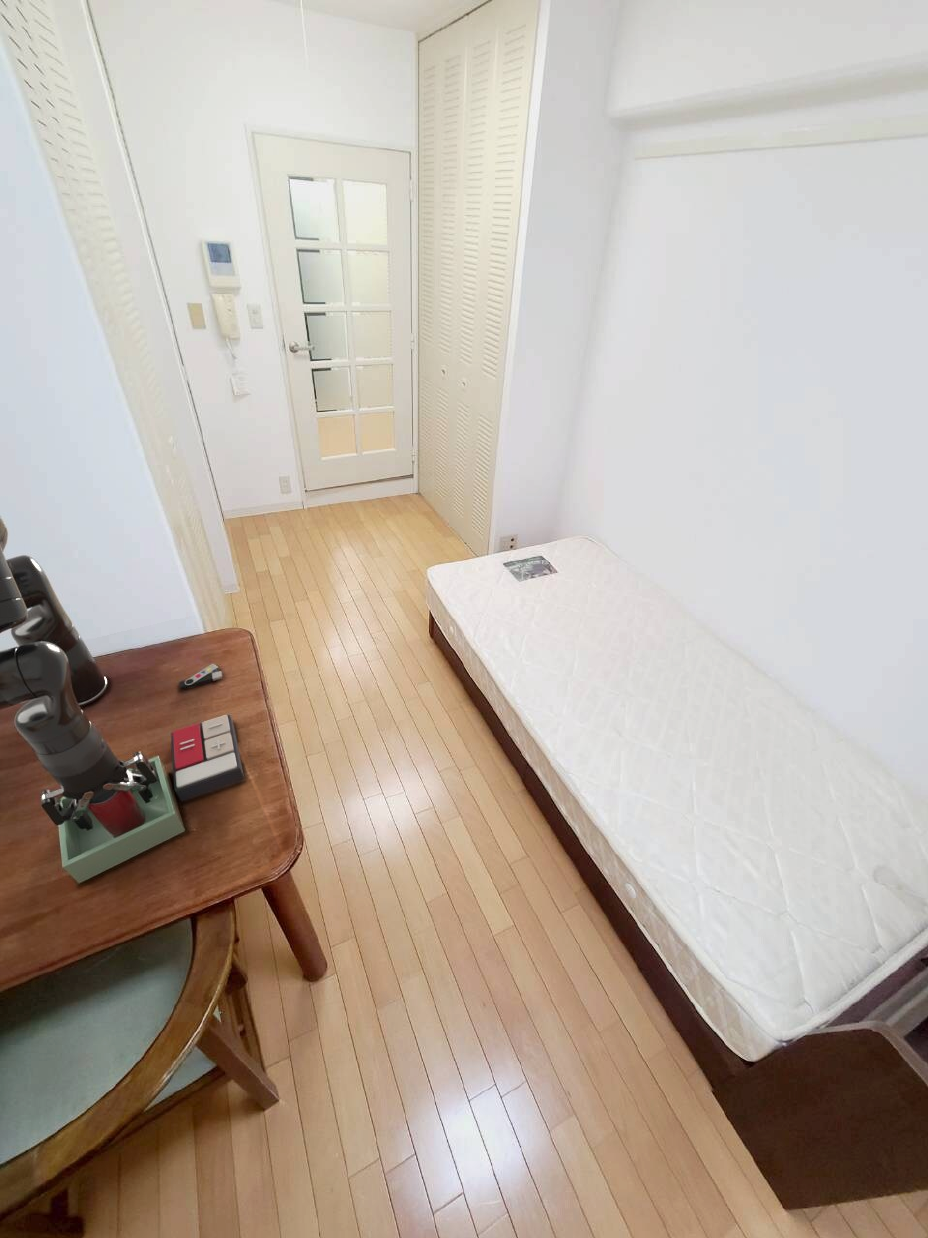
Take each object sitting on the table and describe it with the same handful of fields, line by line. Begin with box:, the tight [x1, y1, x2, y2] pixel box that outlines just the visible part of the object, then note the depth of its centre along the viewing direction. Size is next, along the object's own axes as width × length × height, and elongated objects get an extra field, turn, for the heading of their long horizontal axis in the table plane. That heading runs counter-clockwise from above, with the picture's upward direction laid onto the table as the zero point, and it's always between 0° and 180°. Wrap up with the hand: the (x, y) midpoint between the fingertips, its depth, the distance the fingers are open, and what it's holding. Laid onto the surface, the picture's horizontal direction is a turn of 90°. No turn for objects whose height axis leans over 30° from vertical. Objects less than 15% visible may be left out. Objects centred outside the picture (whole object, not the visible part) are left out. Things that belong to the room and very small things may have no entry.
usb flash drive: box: [178, 663, 223, 691], centre depth 114 cm, size 9×5×1 cm, turn 117°
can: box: [87, 781, 145, 838], centre depth 84 cm, size 6×6×10 cm
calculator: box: [170, 714, 245, 802], centre depth 97 cm, size 11×4×15 cm
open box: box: [57, 755, 186, 884], centre depth 86 cm, size 14×16×6 cm
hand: (119, 811), depth 85 cm, fingers open, 8 cm apart
